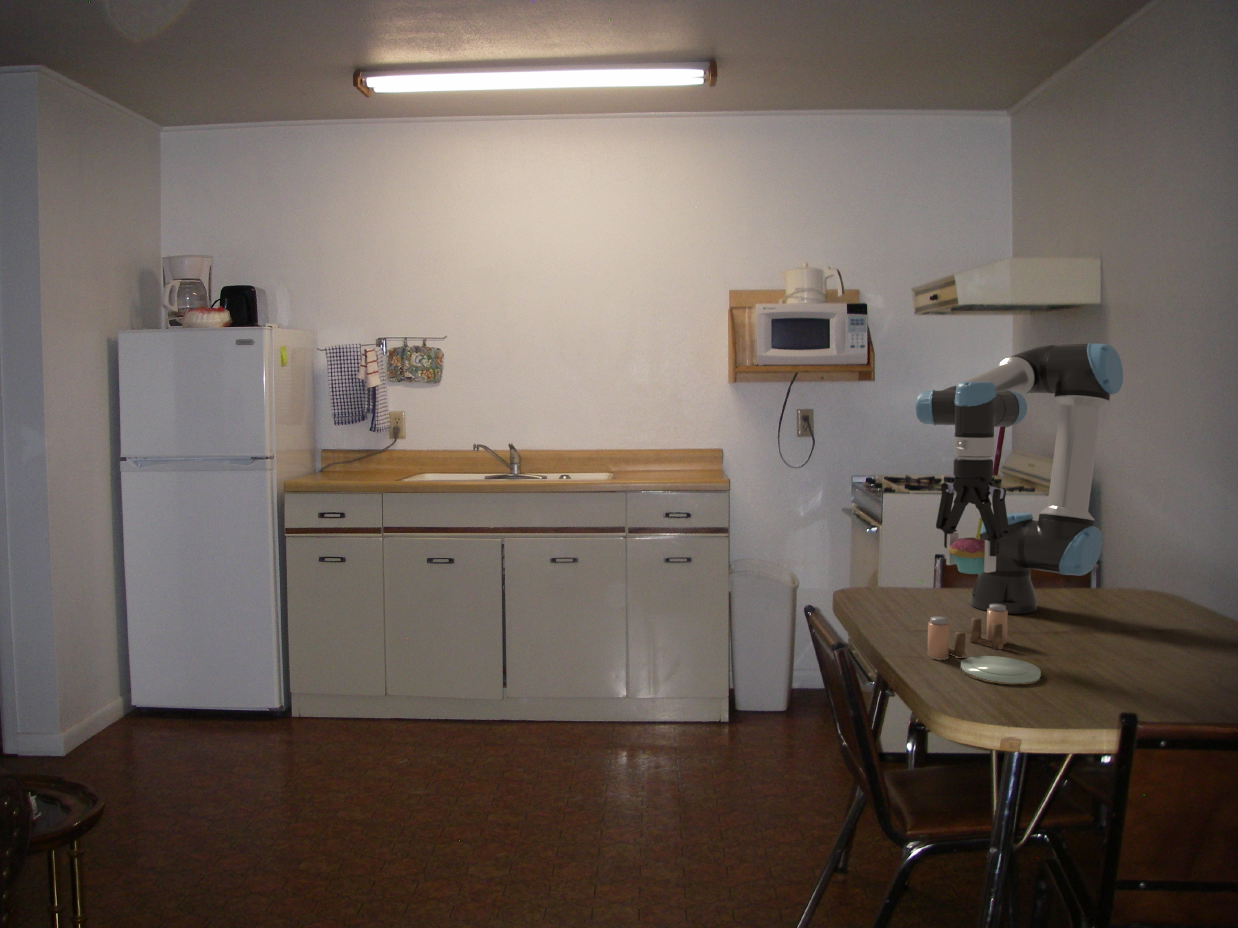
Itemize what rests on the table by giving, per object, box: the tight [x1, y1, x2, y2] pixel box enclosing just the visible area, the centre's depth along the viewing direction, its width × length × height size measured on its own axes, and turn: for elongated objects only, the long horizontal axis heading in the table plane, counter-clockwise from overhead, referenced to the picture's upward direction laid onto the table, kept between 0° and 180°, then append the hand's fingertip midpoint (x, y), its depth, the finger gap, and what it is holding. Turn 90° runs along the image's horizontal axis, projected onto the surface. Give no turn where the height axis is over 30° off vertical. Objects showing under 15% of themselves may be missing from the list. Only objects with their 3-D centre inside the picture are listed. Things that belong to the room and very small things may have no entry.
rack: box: [949, 617, 1004, 657], centre depth 186 cm, size 7×14×5 cm, turn 122°
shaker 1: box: [926, 616, 950, 658], centre depth 181 cm, size 4×4×8 cm
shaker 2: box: [985, 604, 1009, 646], centre depth 191 cm, size 4×4×8 cm
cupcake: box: [949, 517, 985, 575], centre depth 185 cm, size 9×8×12 cm
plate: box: [960, 655, 1042, 683], centre depth 171 cm, size 14×14×1 cm
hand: (970, 567), depth 185 cm, fingers closed on cupcake, 8 cm apart
